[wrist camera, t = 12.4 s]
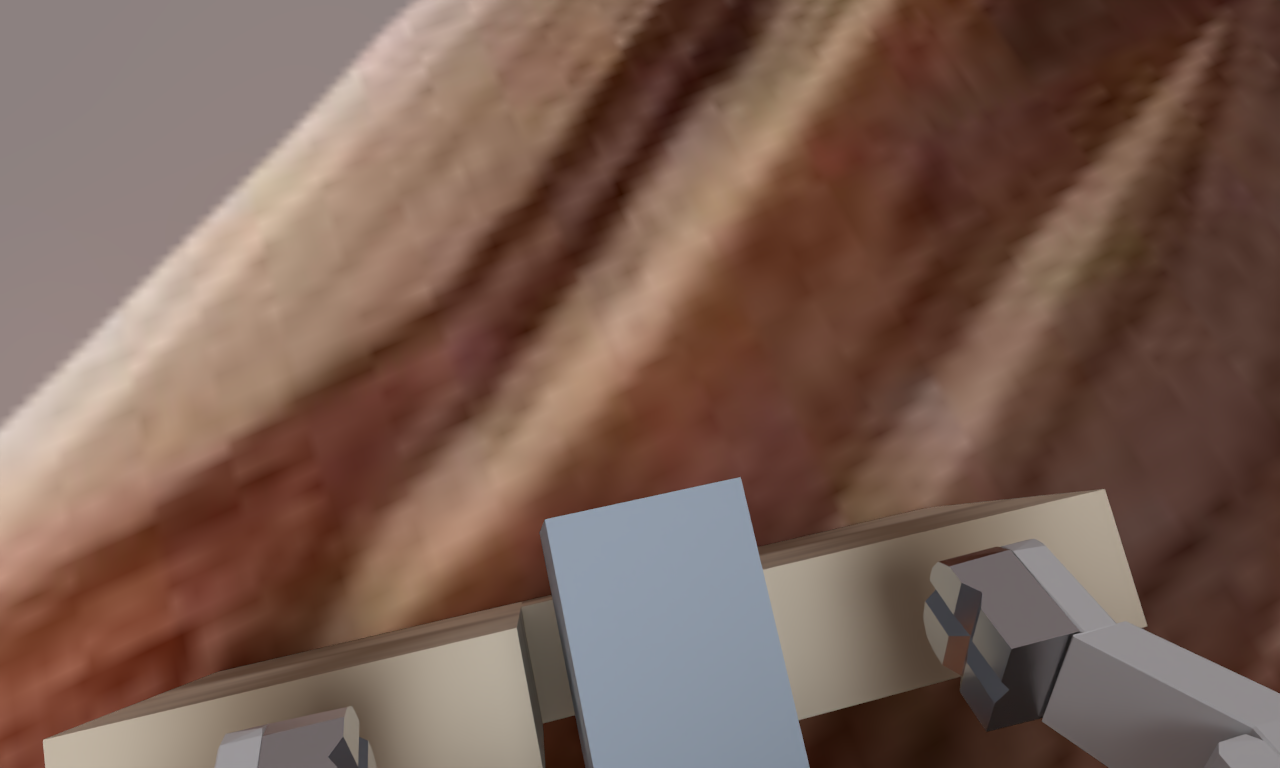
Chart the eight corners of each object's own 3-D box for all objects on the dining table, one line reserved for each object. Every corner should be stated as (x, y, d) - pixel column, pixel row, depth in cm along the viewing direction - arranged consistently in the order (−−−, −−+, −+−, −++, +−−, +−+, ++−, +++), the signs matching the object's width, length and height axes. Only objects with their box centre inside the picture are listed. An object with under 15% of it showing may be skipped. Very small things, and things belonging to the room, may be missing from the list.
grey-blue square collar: (539, 532, 19) (544, 519, 10) (650, 508, 19) (741, 477, 11) (590, 791, 18) (640, 1002, 10) (705, 759, 18) (849, 935, 10)
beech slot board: (230, 785, 19) (58, 919, 12) (217, 672, 19) (42, 740, 12) (954, 601, 22) (1147, 626, 15) (928, 507, 22) (1104, 488, 15)
